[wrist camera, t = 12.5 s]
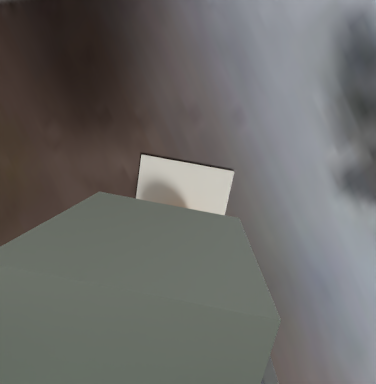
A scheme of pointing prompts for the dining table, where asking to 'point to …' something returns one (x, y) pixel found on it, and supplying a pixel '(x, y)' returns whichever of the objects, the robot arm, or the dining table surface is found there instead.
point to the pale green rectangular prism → (134, 298)
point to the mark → (184, 184)
